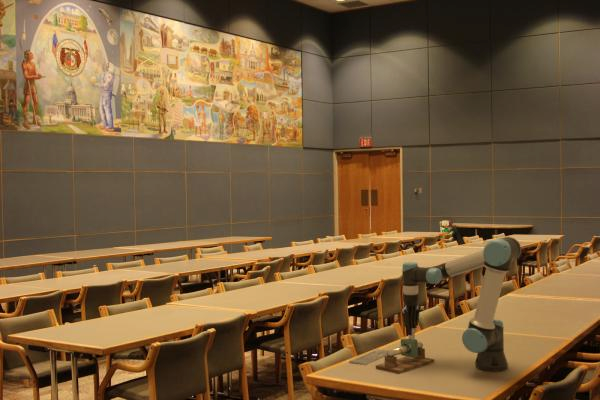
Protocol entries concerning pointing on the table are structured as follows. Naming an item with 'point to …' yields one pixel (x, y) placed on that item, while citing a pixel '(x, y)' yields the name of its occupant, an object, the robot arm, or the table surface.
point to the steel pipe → (401, 350)
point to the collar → (413, 347)
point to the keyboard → (369, 357)
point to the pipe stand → (404, 363)
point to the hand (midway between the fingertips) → (411, 341)
